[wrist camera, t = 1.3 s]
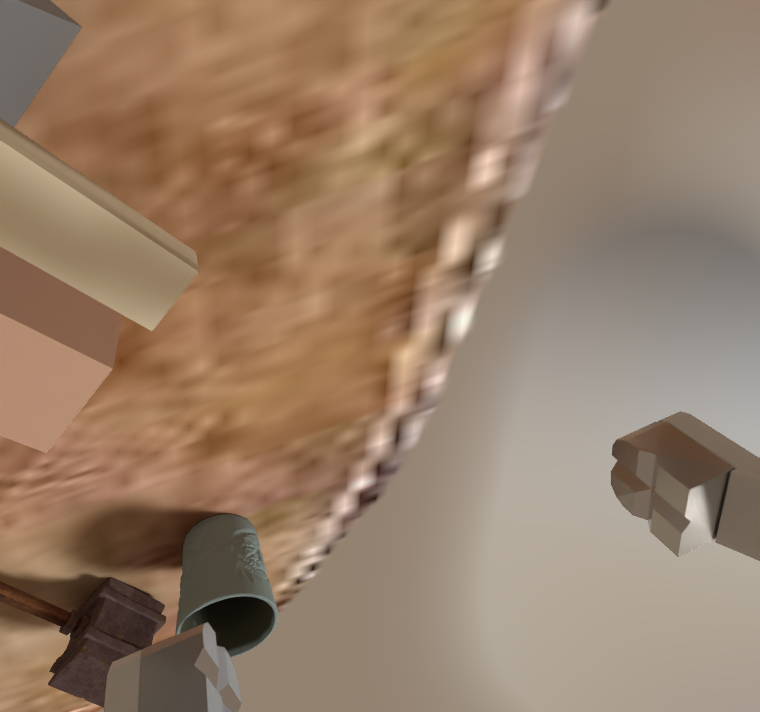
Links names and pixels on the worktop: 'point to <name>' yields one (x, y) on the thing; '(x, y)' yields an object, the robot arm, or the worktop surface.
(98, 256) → the T-bar
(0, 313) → the tan upright block
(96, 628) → the hammer
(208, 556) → the grey green cup
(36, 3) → the grey upright block
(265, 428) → the worktop surface
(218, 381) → the worktop surface
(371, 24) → the worktop surface
